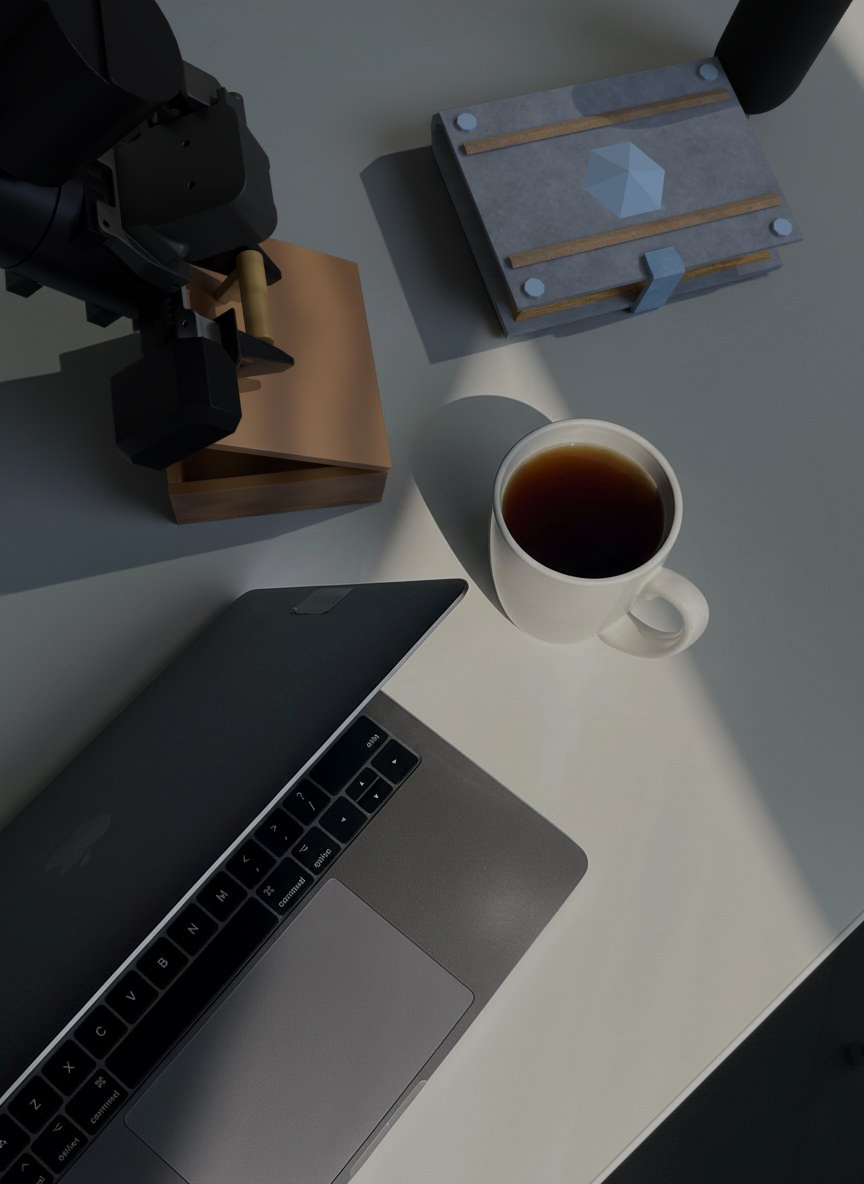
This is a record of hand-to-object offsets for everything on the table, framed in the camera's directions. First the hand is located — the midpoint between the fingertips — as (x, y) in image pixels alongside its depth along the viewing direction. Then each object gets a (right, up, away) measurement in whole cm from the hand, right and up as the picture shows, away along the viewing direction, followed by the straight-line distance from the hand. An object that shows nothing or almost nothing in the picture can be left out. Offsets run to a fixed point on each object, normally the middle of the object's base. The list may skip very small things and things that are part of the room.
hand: (282, 322), depth 55 cm
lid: (-1, -1, +2) cm, 3 cm away
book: (+20, +13, +18) cm, 30 cm away
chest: (-2, -3, +10) cm, 11 cm away
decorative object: (+31, +23, +22) cm, 44 cm away
